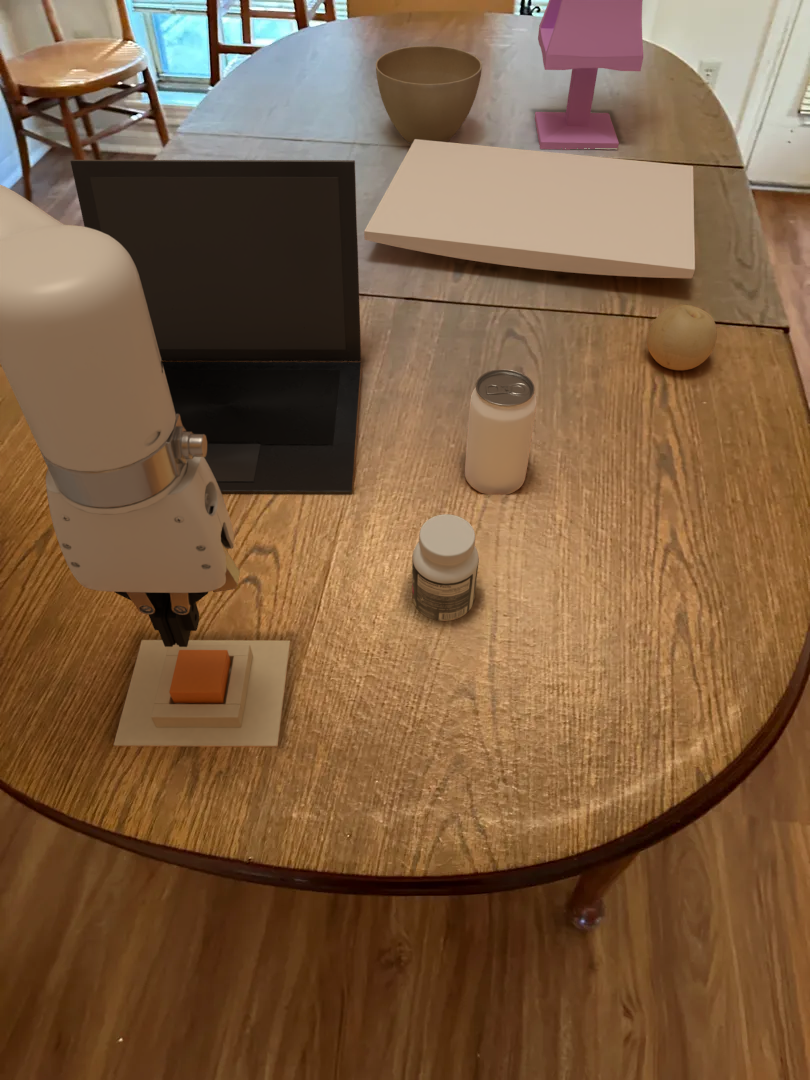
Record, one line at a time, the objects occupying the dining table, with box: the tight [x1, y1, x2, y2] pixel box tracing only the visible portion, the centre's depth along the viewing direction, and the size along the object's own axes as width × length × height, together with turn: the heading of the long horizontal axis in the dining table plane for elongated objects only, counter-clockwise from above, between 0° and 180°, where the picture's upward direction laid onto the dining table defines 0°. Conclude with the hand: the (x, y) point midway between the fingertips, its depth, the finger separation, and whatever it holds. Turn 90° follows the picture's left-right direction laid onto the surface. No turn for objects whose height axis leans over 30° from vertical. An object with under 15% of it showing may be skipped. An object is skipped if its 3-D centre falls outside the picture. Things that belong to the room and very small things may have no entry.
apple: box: [646, 303, 718, 371], centre depth 95 cm, size 8×8×8 cm
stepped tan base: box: [113, 639, 291, 748], centre depth 65 cm, size 13×10×3 cm
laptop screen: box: [70, 159, 362, 362], centre depth 89 cm, size 22×30×1 cm
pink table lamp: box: [534, 0, 644, 150], centre depth 130 cm, size 16×16×35 cm
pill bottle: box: [411, 513, 480, 622], centre depth 69 cm, size 6×6×10 cm
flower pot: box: [375, 45, 483, 145], centre depth 138 cm, size 18×18×12 cm
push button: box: [169, 650, 231, 703], centre depth 64 cm, size 4×4×2 cm
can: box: [464, 368, 537, 496], centre depth 79 cm, size 6×6×12 cm
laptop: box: [162, 361, 363, 496], centre depth 88 cm, size 22×30×2 cm
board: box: [363, 139, 696, 279], centre depth 119 cm, size 45×32×5 cm
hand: (180, 630), depth 59 cm, fingers closed
